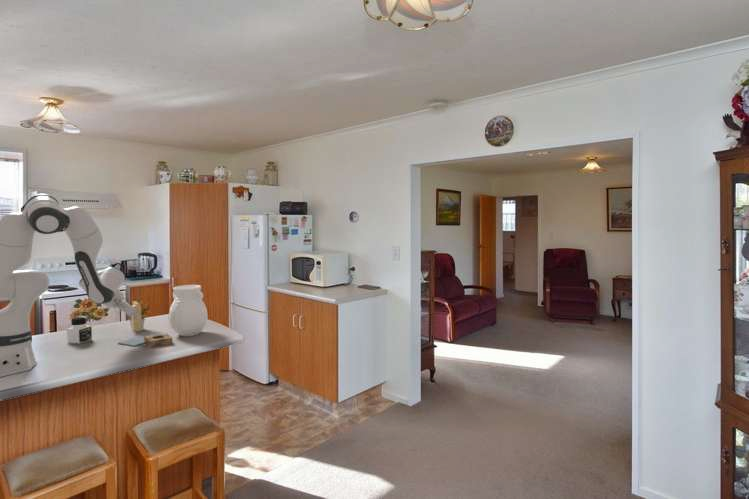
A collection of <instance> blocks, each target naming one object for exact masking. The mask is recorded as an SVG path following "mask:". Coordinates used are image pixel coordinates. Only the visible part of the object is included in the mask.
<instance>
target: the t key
mask: <svg viewBox="0 0 749 499" xmlns="http://www.w3.org/2000/svg"><path fill="white" fill-rule="evenodd" d="M139 303H140V302H138V301H137V302H136V300H135V301H132V304H133V305H132V304H131V306H132V307H133V308H134V309H135V310H136V313H137V314H139V315H140V317H139V318H136V317H134V316H131V318H132V327H131V331H132V330H133V332H140V331H143V330H142V318H141V317H142V316H141V311H142V310H141V309H142V308H141V307H142V305H139Z"/></svg>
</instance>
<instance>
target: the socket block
mask: <svg viewBox="0 0 749 499" xmlns="http://www.w3.org/2000/svg"><path fill="white" fill-rule="evenodd" d="M143 338H144V341H145V344H144V345H146V346H148V348H155V347H156V348H157V347H162V346H167V345H172V344H173V337H172V336H171V335H170V334H168V333H167V332H165V333H159V334H152V335H146V336H143Z"/></svg>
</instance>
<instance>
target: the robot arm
mask: <svg viewBox="0 0 749 499" xmlns="http://www.w3.org/2000/svg"><path fill="white" fill-rule="evenodd" d="M35 232H37V233H39V234H41V235H52V234H55V233H60V232H65V234H66V235H67V237H68V239H69V242H70V244H72V245H71V246H72V248H73V253H74V261H75V264H76V267H77V269H78V272H79V275H80V277H81V279H80V280H79V282H78V284H79V286H80V287H81V289H82V290H83V291H84V292H85V293H86V296H87V297H88V299H89V300H90V301H91V302H92V303H95V304H96V305H97V304H99V305H104V306H105V307H107V308H108V309H111V308H113V309H117V308H118V309H119V310H120V311H121V312H123V313H125V314H126V315H127V316H129V317H132V316H134V317H136V318H139V317H140V315H139V314H137V313H136V310H135V309H134V308H133V307H132V305H131V304H129V302H127V301H126V300H125V296H124V295H125V293H124V292H123V291H121V290H120V288H121V286H122V284H123V283H124V281H125V279H126V276H125V273H124V272H123V270H121V269H120V268H118V267H115V266H109V267H106V268H105V269H101V270H98V269H97V265H96V261H97V258H98V256H99V255H98V254H99V251H100V249H101V248H102V246H103V241H104V239H103V235H102V232H101V231H100V229H99V227H98V225H97V223H96V221H95V220H94V218H93V217H92V216H91V214H90V213H89V212H88V211H87V210H86V209H85V208H83V207H80V206H71V207H67V208H64V207H61V205H60V203H59V202H58V200H57V199H56V198H55V197H54V196H52V195H50V194H48V193H47V194H46V193H37V194H35V195H33V196H30V198H29V199H28V200H27V201H26V203H24V204H23V206H21V208H20V212H10V213H6V214H4V215H2V216H1V218H0V301H3V300H9V299H10V301H9V303H8V304H7V305H6V306H5V307H3V308H1V309H0V378H1V377H5V376H10V375H15V374H19V373H23V372H27V371H30V370H32V369H33V368H34V366H36V365H37V364H38V361H37V360H36V358H35V354H34V351H33V346H32V343H33V334H32V329H31V311H32V308H33V306H34V304H35V302H36V301H37V300H38V298H39V297H40V296H42V294H44V293H45V292H46V291H47V290H48V288H49V286H50V278H49V276H48V274H47V273H45V271H43V270H37V269H21V270H18V269H19V268H21V267H23V266H25V265H27V264H28V263H29V261H30V260H31V258H32V251H33V243H34V235H35Z"/></svg>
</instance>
